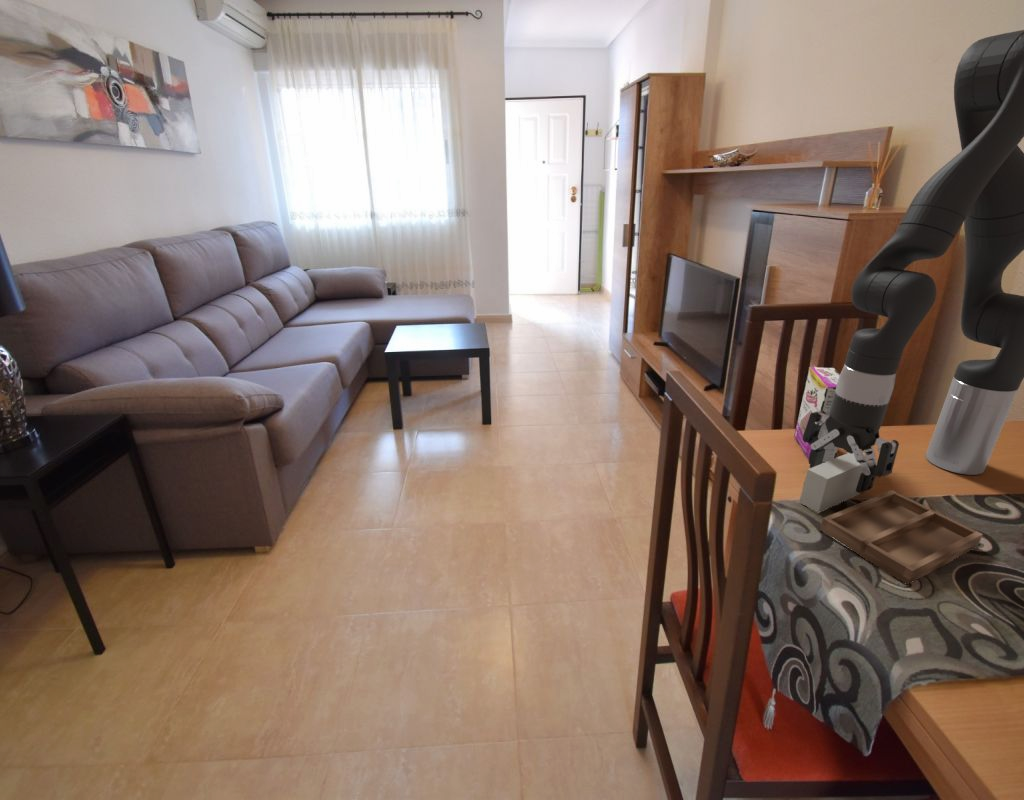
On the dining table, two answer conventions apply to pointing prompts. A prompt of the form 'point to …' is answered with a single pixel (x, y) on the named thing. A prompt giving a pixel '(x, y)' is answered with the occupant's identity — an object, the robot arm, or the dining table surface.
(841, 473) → the light gray rectangular block
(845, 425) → the robot arm
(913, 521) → the tray
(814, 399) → the candy bar box
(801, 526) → the dining table surface
